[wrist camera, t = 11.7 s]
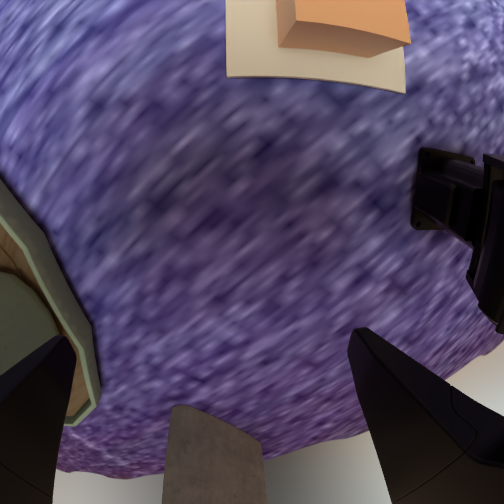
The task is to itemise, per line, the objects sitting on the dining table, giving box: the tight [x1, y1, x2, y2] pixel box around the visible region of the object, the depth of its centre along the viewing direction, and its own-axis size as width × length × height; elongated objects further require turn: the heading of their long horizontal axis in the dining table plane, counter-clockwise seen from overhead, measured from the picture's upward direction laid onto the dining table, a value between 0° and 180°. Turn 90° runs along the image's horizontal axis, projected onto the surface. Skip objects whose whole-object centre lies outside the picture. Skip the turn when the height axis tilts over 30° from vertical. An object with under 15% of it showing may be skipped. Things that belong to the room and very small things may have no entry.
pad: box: [226, 0, 406, 94], centre depth 12 cm, size 12×10×1 cm
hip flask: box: [162, 405, 268, 504], centre depth 22 cm, size 16×4×20 cm, turn 36°
